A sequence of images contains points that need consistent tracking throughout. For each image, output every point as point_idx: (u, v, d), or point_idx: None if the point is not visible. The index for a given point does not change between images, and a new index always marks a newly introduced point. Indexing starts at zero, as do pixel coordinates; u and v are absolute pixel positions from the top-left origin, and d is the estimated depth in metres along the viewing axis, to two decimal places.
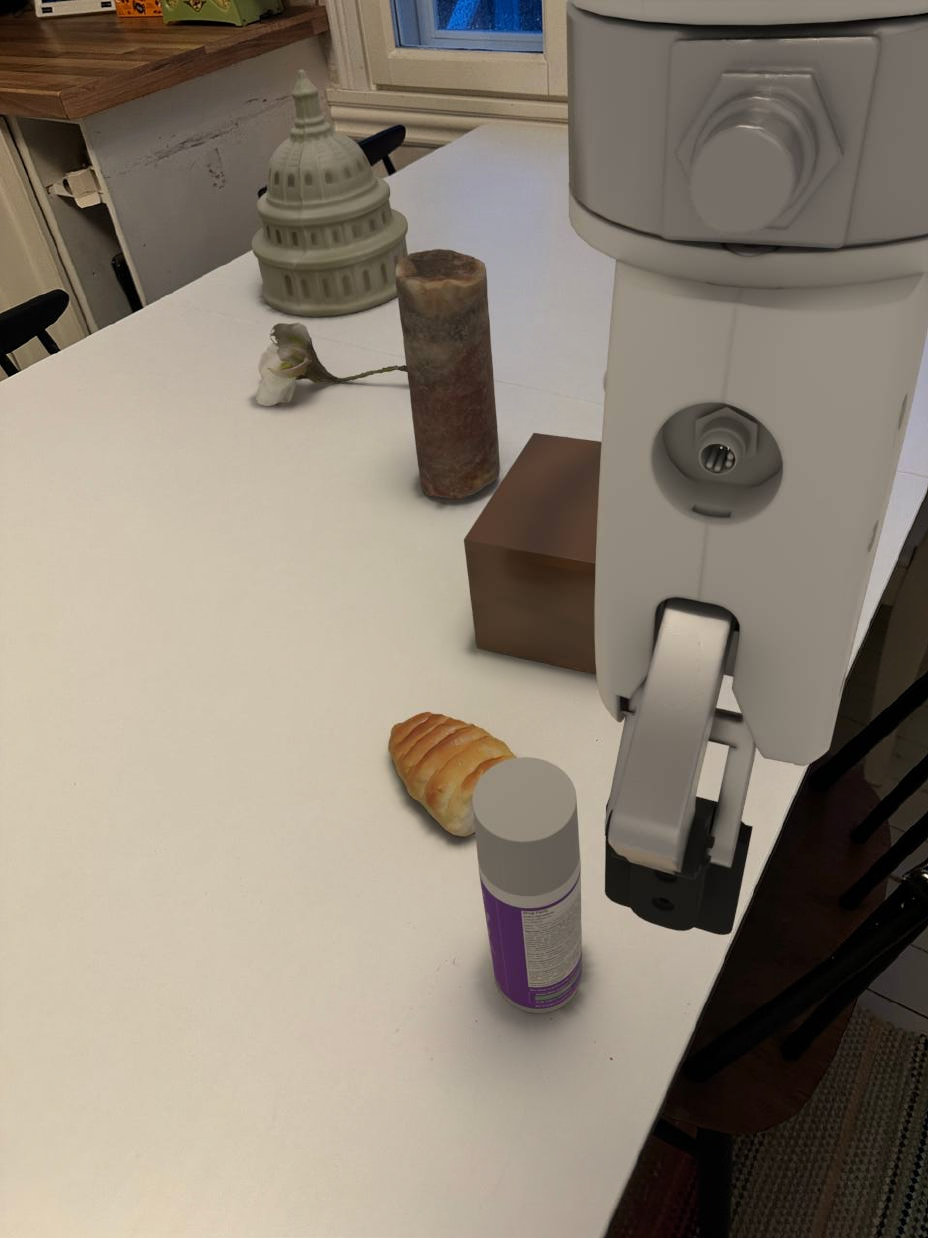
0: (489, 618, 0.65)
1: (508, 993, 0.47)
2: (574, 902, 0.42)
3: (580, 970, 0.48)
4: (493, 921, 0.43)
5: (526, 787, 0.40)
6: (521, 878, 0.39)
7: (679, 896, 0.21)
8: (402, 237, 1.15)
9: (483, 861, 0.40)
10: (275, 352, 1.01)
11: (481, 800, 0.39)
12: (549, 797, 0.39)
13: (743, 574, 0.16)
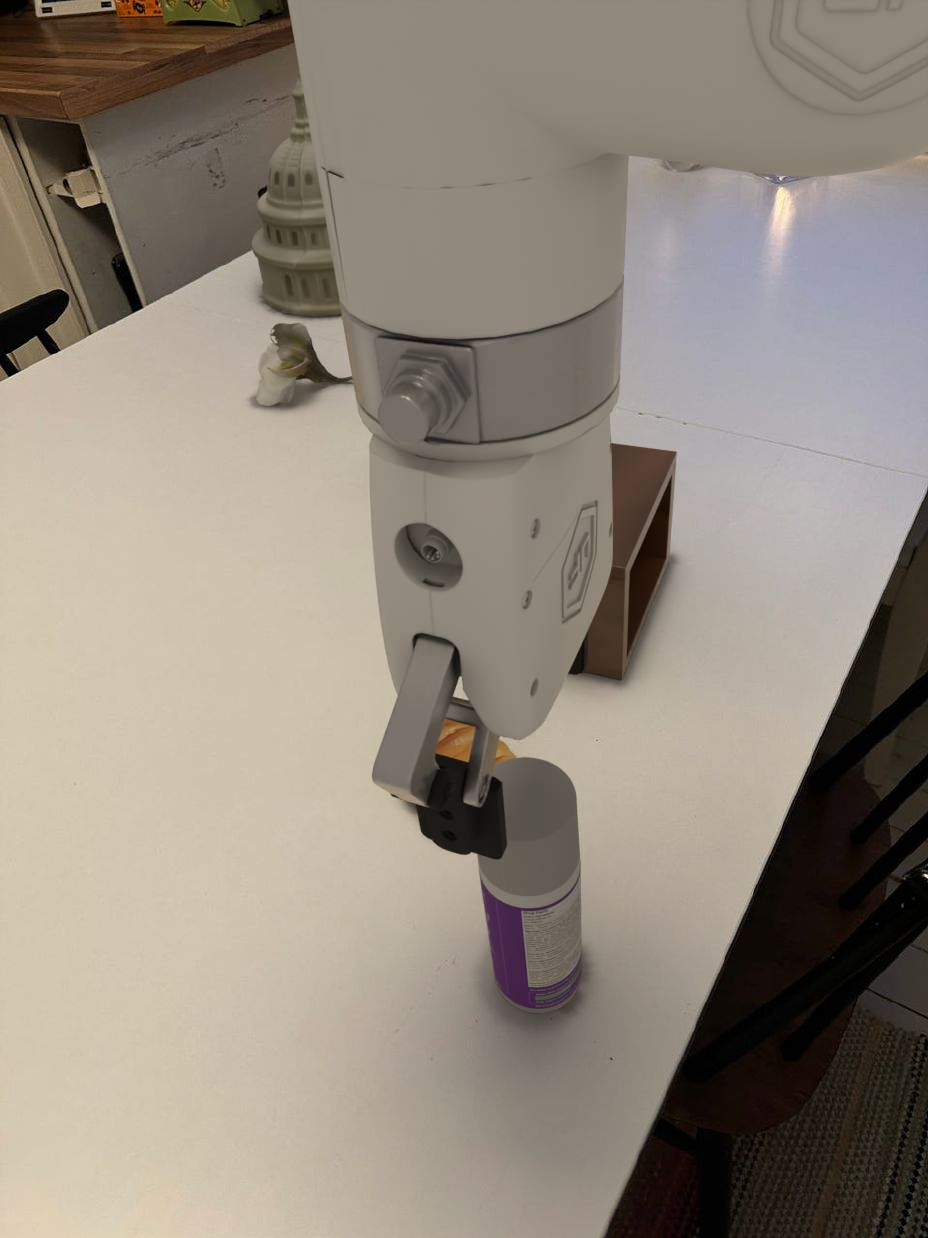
0: None
1: (508, 993, 0.47)
2: (574, 902, 0.42)
3: (580, 970, 0.48)
4: (493, 921, 0.43)
5: (526, 787, 0.40)
6: (521, 878, 0.39)
7: (457, 829, 0.31)
8: None
9: (483, 861, 0.40)
10: (275, 352, 1.01)
11: None
12: (549, 797, 0.39)
13: (454, 620, 0.26)
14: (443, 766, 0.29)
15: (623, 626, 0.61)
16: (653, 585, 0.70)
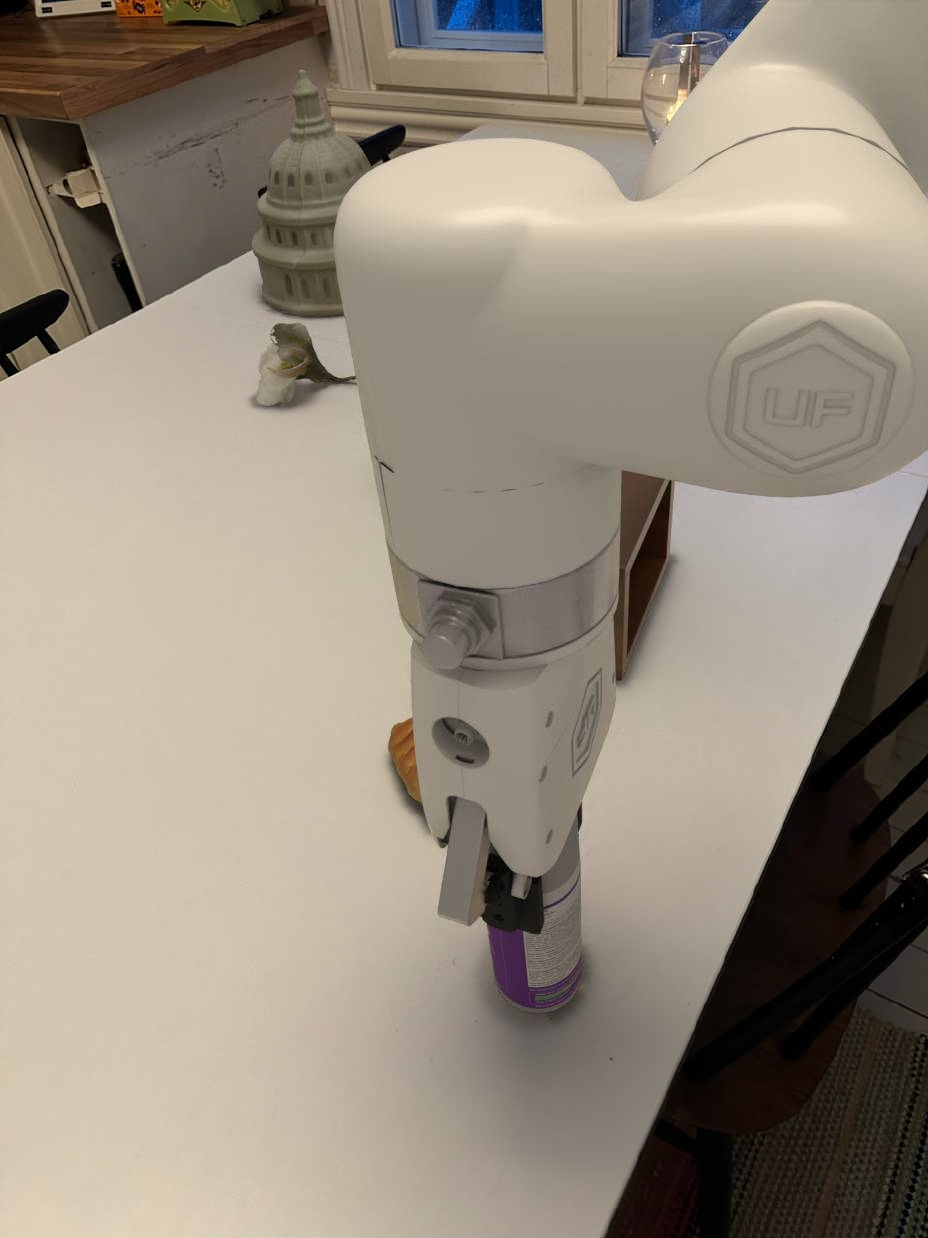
0: None
1: (508, 993, 0.47)
2: (574, 902, 0.42)
3: (580, 970, 0.48)
4: None
5: None
6: None
7: (505, 913, 0.39)
8: None
9: None
10: (275, 352, 1.01)
11: None
12: None
13: (482, 790, 0.31)
14: (495, 868, 0.36)
15: (623, 626, 0.61)
16: (653, 585, 0.70)
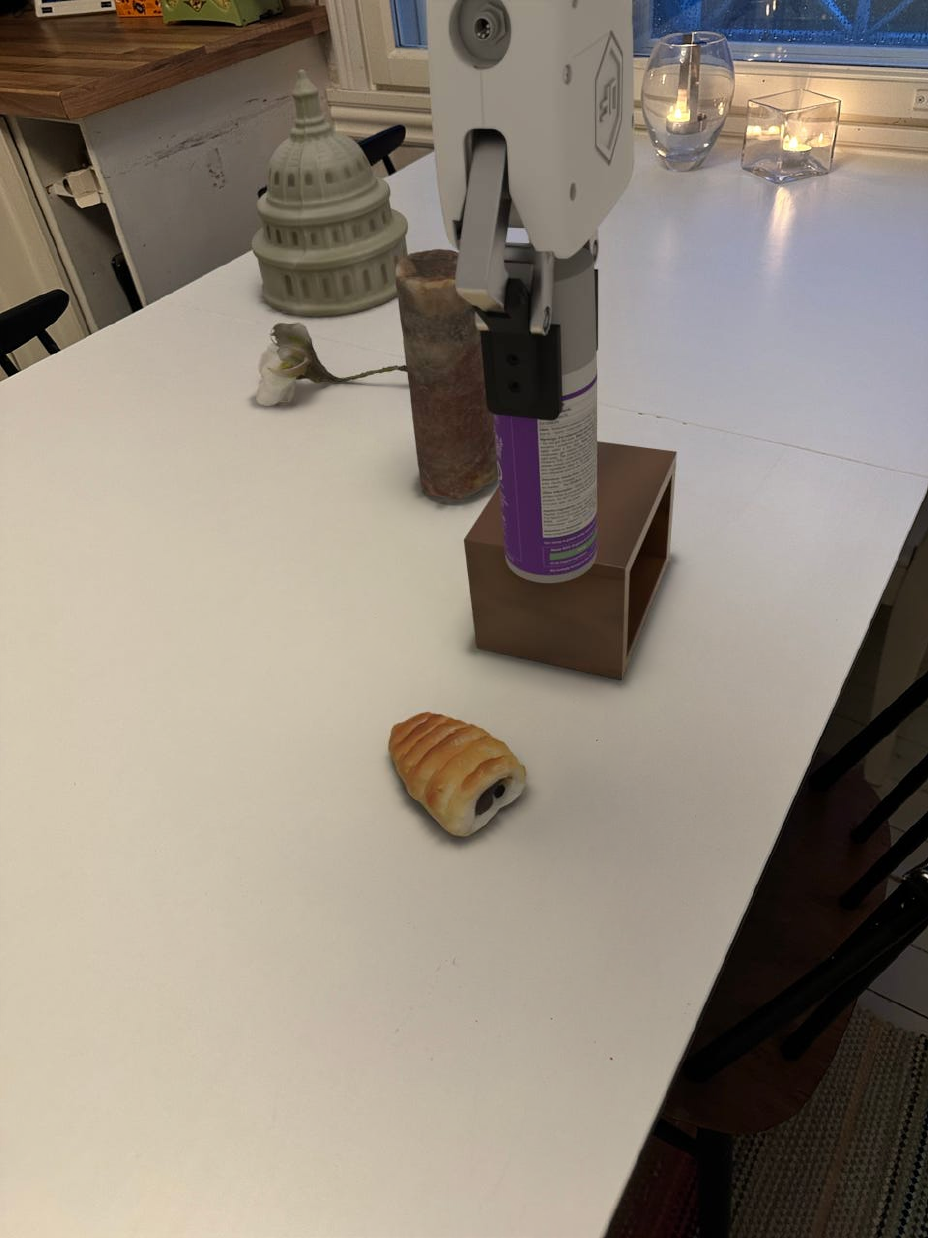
0: (489, 618, 0.65)
1: (521, 560, 0.45)
2: (591, 411, 0.40)
3: (595, 539, 0.46)
4: (506, 442, 0.41)
5: None
6: None
7: (522, 375, 0.37)
8: (402, 237, 1.15)
9: None
10: (275, 352, 1.01)
11: None
12: (565, 259, 0.37)
13: (502, 102, 0.29)
14: None
15: (623, 626, 0.61)
16: (653, 585, 0.70)
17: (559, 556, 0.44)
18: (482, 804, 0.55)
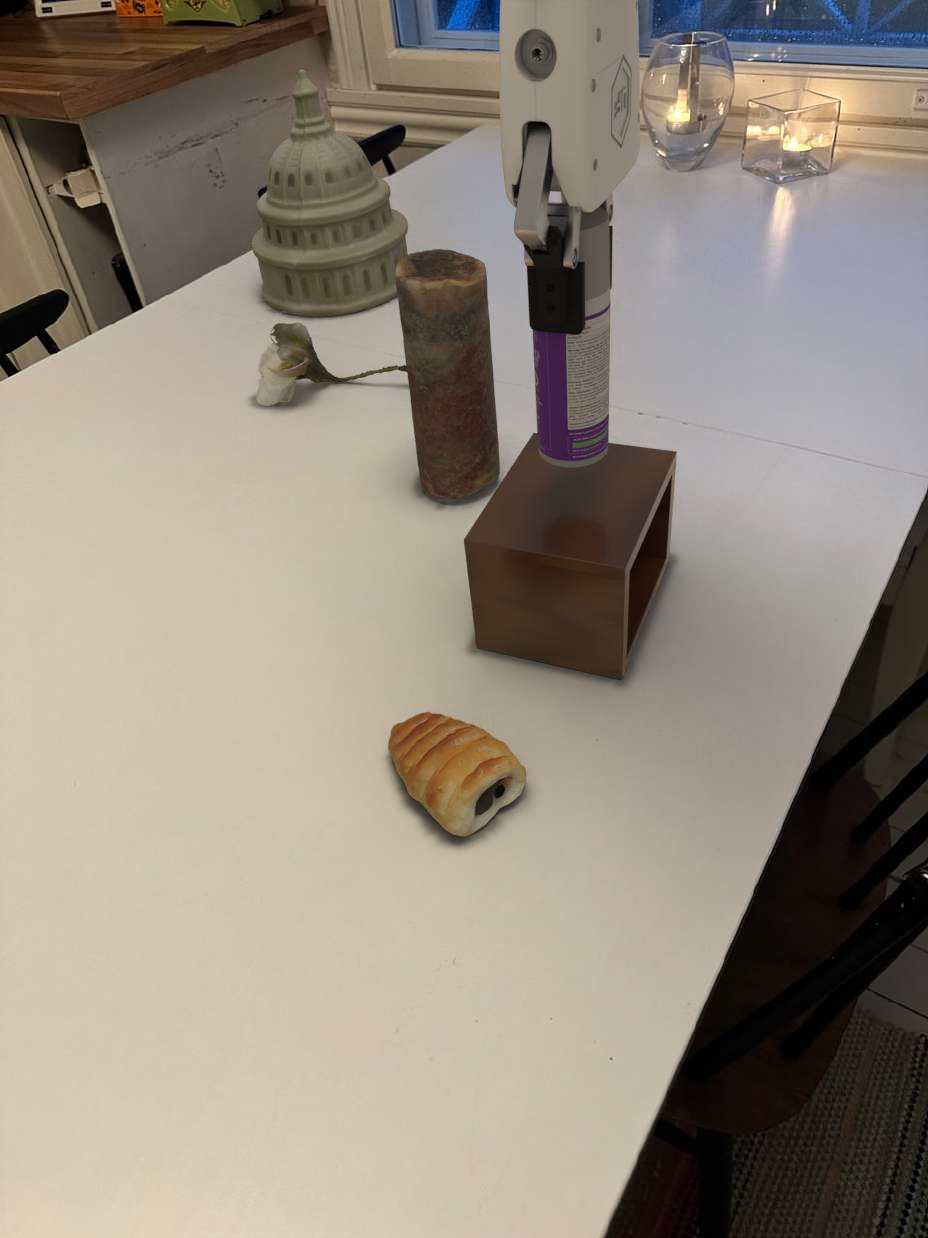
0: (489, 618, 0.65)
1: (550, 449, 0.60)
2: (605, 330, 0.55)
3: (607, 434, 0.60)
4: (542, 354, 0.56)
5: None
6: None
7: (556, 299, 0.51)
8: (402, 237, 1.15)
9: None
10: (275, 352, 1.01)
11: None
12: (588, 215, 0.52)
13: (549, 103, 0.44)
14: None
15: (623, 626, 0.61)
16: (653, 585, 0.70)
17: (580, 445, 0.59)
18: (482, 804, 0.55)
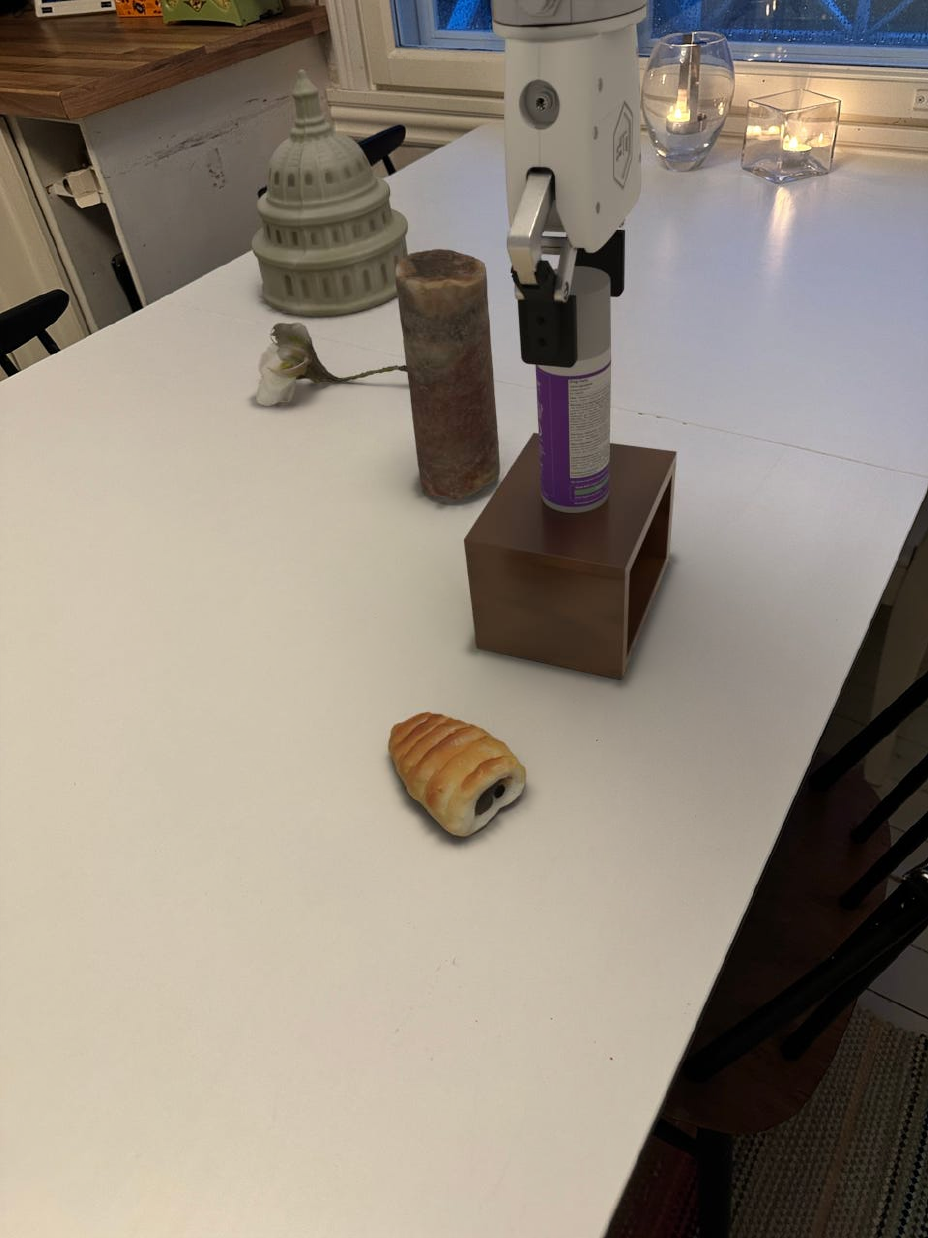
0: (489, 618, 0.65)
1: (553, 495, 0.62)
2: (606, 386, 0.57)
3: (608, 481, 0.63)
4: (545, 407, 0.58)
5: (573, 276, 0.55)
6: None
7: (548, 332, 0.50)
8: (402, 237, 1.15)
9: None
10: (275, 352, 1.01)
11: None
12: (590, 279, 0.54)
13: (553, 150, 0.45)
14: None
15: (623, 626, 0.61)
16: (653, 585, 0.70)
17: (581, 492, 0.61)
18: (482, 804, 0.55)
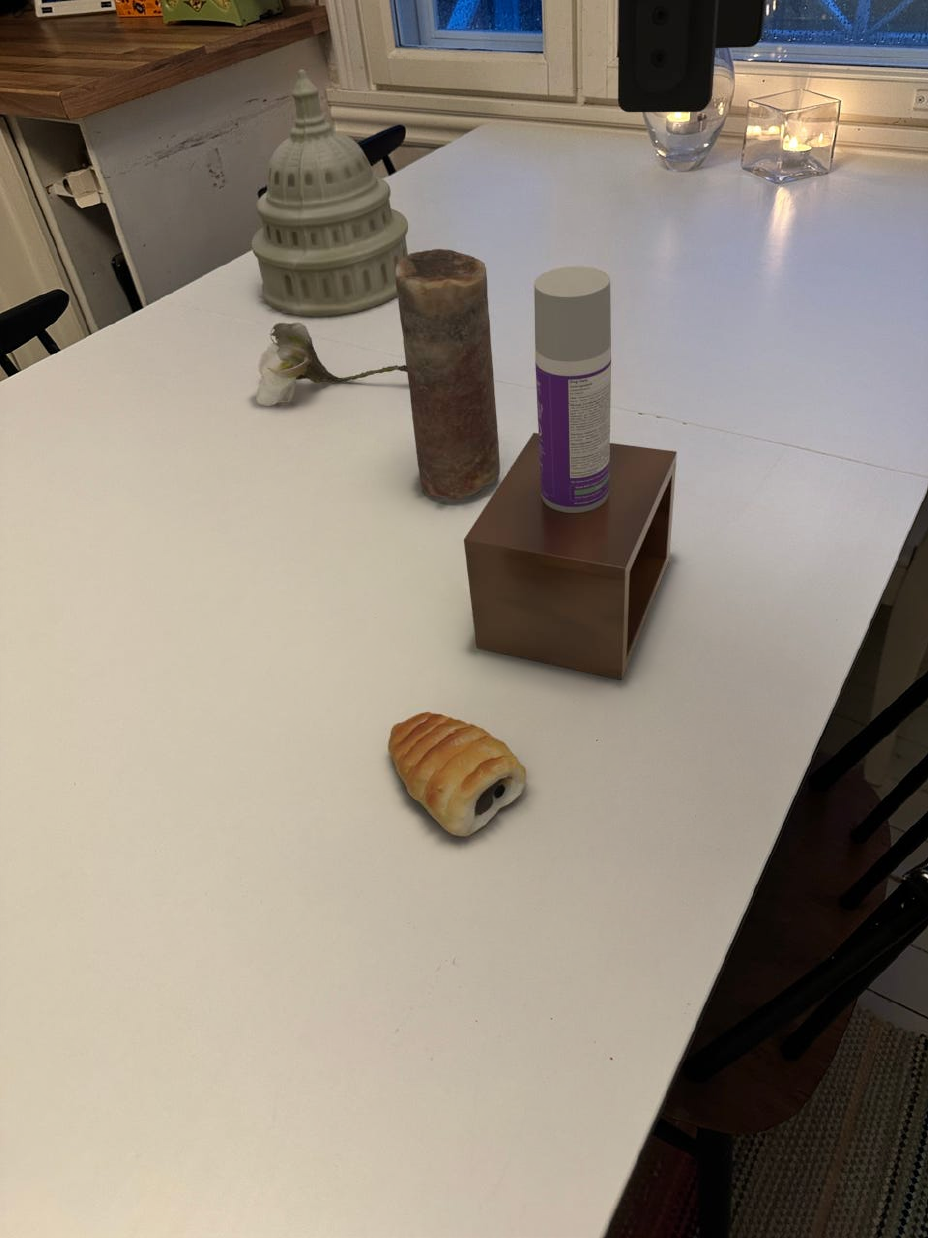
0: (489, 618, 0.65)
1: (553, 495, 0.62)
2: (606, 386, 0.57)
3: (608, 481, 0.63)
4: (545, 407, 0.58)
5: (573, 276, 0.55)
6: (569, 339, 0.54)
7: (670, 39, 0.30)
8: (402, 237, 1.15)
9: (541, 338, 0.55)
10: (275, 352, 1.01)
11: (541, 283, 0.54)
12: (590, 279, 0.54)
13: None
14: None
15: (623, 626, 0.61)
16: (653, 585, 0.70)
17: (581, 492, 0.61)
18: (482, 804, 0.55)
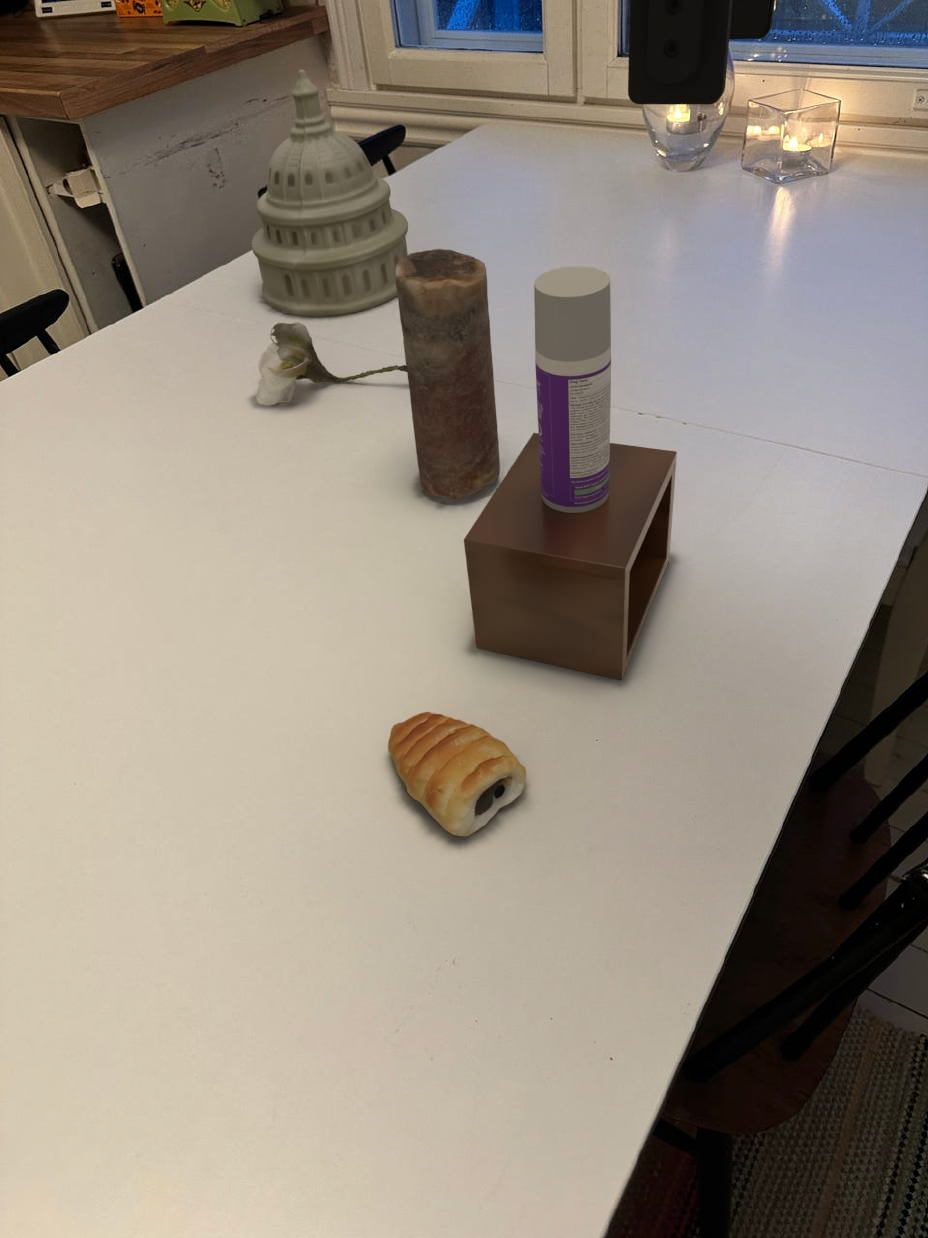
0: (489, 618, 0.65)
1: (553, 495, 0.62)
2: (606, 386, 0.57)
3: (608, 481, 0.63)
4: (545, 407, 0.58)
5: (573, 276, 0.55)
6: (569, 339, 0.54)
7: (683, 29, 0.29)
8: (402, 237, 1.15)
9: (541, 338, 0.55)
10: (275, 352, 1.01)
11: (541, 283, 0.54)
12: (590, 279, 0.54)
13: None
14: None
15: (623, 626, 0.61)
16: (653, 585, 0.70)
17: (581, 492, 0.61)
18: (482, 804, 0.55)
